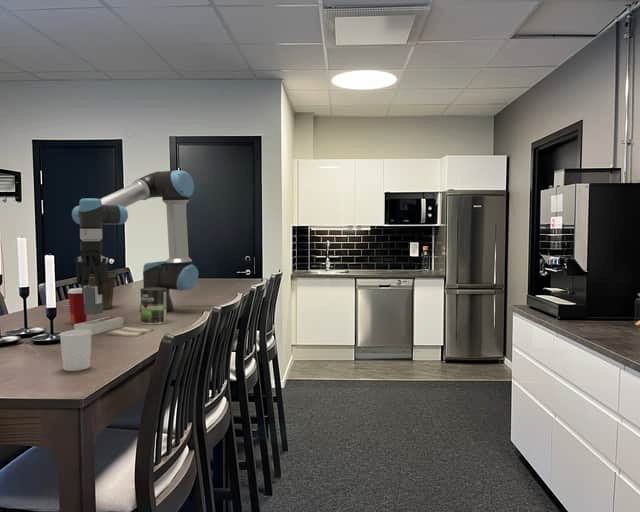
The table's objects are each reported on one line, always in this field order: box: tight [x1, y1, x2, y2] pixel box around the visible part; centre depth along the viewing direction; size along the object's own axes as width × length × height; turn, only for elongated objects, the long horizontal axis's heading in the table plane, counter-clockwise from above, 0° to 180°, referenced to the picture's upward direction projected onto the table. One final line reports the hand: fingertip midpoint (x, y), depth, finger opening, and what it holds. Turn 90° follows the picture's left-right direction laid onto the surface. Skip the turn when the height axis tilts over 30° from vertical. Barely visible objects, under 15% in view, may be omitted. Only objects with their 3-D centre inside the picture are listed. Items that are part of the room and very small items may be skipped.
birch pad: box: [105, 326, 155, 338], centre depth 191 cm, size 12×12×1 cm
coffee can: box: [139, 287, 168, 326], centre depth 211 cm, size 10×10×14 cm
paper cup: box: [67, 287, 88, 325], centre depth 209 cm, size 8×8×14 cm
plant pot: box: [88, 273, 117, 311], centre depth 246 cm, size 16×16×16 cm
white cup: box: [59, 329, 92, 372], centre depth 142 cm, size 8×8×10 cm
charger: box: [84, 286, 104, 316], centre depth 191 cm, size 5×4×10 cm
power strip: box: [73, 315, 124, 336], centre depth 195 cm, size 18×7×5 cm, turn 162°
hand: (92, 302), depth 191 cm, fingers closed on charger, 4 cm apart
